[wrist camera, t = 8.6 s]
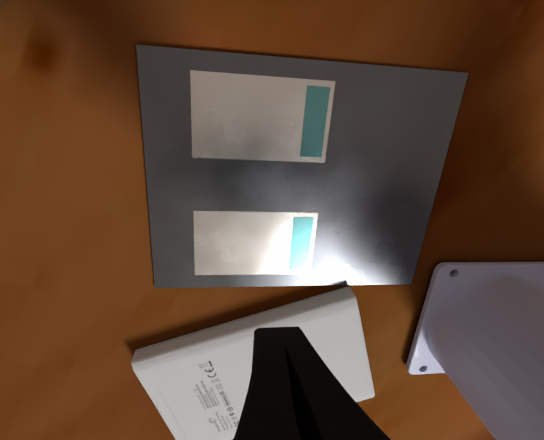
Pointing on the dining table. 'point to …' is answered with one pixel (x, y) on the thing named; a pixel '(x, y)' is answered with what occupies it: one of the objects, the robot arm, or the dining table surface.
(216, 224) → the bay plate
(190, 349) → the external hard drive
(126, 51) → the dining table surface
